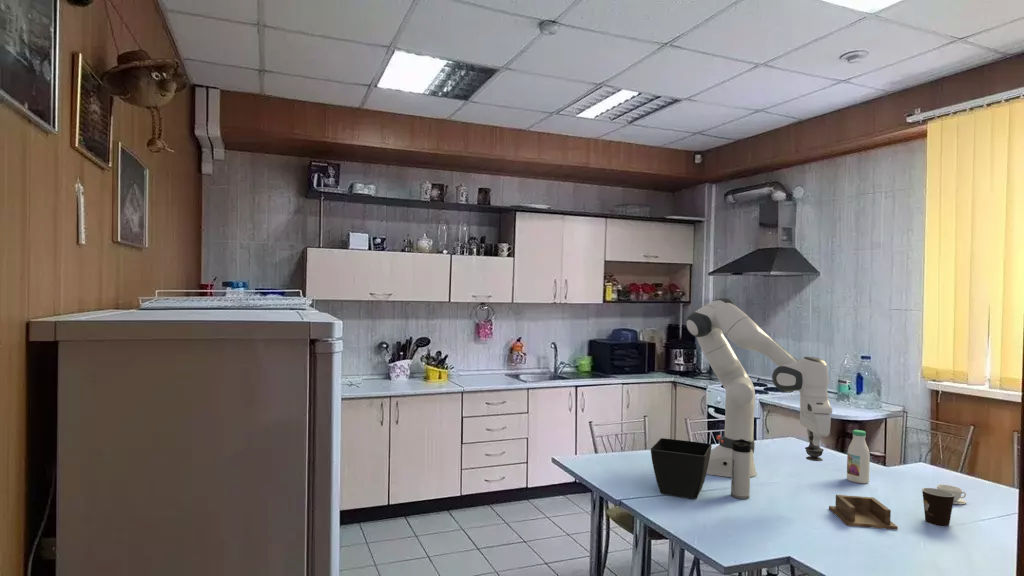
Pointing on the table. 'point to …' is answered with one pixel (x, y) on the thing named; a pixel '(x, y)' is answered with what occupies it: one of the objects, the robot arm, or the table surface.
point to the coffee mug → (937, 506)
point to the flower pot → (680, 466)
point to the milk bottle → (858, 458)
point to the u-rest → (862, 512)
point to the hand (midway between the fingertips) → (813, 443)
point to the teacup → (955, 491)
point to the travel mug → (741, 469)
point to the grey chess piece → (813, 450)
